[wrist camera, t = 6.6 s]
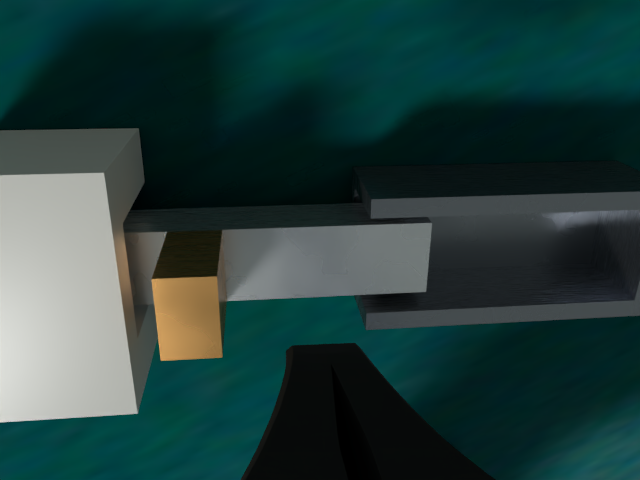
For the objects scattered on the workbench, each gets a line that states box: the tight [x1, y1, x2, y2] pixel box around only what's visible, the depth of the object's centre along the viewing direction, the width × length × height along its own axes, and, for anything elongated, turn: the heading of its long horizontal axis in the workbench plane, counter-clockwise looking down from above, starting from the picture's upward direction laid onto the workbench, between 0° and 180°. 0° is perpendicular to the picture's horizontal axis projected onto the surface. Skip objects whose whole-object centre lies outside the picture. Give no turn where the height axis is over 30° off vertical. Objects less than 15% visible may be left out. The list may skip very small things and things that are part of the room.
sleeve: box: [352, 161, 640, 330], centre depth 20 cm, size 4×10×3 cm, turn 90°
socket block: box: [0, 128, 158, 422], centre depth 18 cm, size 7×4×5 cm, turn 179°
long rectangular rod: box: [123, 203, 432, 361], centre depth 18 cm, size 2×12×5 cm, turn 89°
